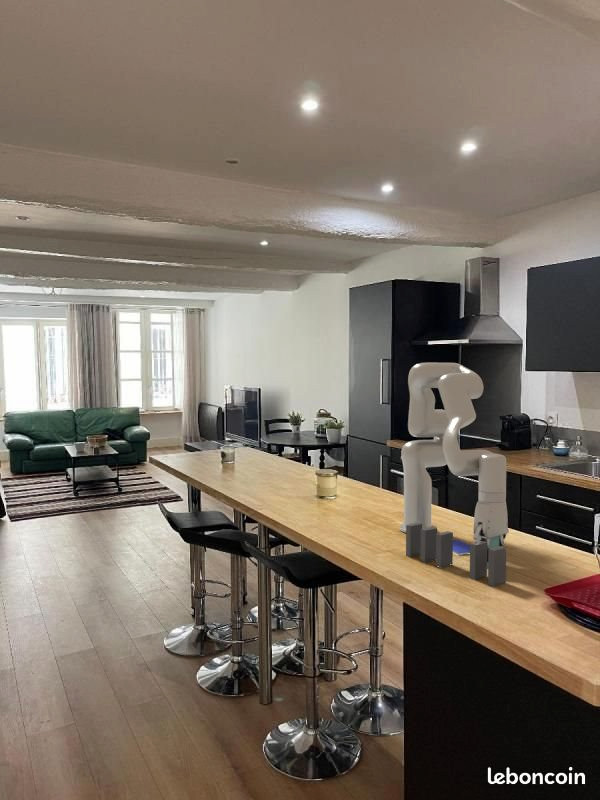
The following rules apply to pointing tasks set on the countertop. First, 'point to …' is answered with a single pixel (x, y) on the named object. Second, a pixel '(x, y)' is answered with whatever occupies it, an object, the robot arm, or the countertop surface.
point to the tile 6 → (497, 566)
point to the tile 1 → (413, 539)
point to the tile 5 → (478, 560)
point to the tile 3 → (444, 549)
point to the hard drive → (460, 547)
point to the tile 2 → (428, 544)
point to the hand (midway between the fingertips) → (491, 558)
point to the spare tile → (493, 542)
